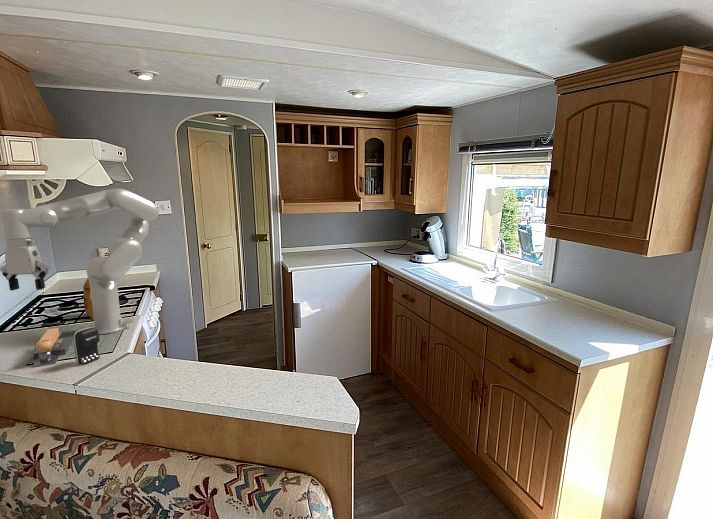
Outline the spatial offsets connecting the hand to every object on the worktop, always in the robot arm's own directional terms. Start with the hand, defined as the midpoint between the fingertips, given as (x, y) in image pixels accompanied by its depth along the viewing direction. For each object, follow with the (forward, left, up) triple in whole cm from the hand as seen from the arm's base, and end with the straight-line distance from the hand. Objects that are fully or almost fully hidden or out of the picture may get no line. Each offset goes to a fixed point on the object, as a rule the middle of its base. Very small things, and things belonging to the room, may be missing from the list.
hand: (27, 289), depth 140 cm
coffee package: (-16, -39, -23) cm, 48 cm away
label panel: (-6, +6, -23) cm, 24 cm away
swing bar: (-6, +11, -18) cm, 23 cm away
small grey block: (-6, +19, -23) cm, 30 cm away
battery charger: (-19, +26, -23) cm, 40 cm away
